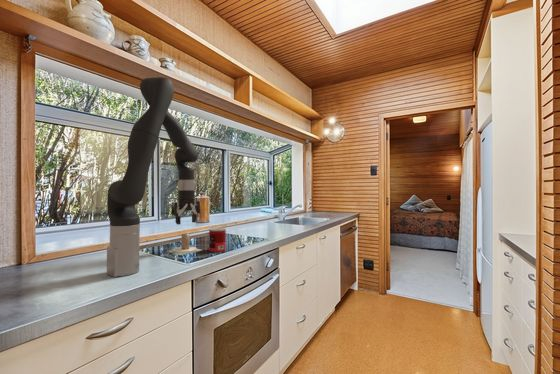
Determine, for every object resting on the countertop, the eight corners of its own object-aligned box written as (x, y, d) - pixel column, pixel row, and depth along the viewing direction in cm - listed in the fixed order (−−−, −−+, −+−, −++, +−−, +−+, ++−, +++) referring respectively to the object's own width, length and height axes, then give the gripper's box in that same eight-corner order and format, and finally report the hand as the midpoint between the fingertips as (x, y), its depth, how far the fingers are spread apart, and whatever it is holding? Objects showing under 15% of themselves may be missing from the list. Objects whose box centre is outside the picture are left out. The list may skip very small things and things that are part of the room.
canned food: (227, 249, 127) (227, 227, 128) (222, 253, 119) (222, 230, 120) (212, 249, 128) (212, 227, 128) (206, 253, 120) (206, 229, 120)
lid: (182, 254, 115) (182, 236, 115) (169, 251, 120) (169, 234, 120) (200, 250, 123) (201, 233, 123) (187, 247, 129) (188, 231, 129)
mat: (180, 256, 114) (180, 255, 114) (167, 253, 120) (167, 251, 120) (202, 251, 124) (202, 249, 124) (189, 248, 129) (189, 247, 129)
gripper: (177, 189, 114) (177, 225, 114) (203, 189, 126) (203, 222, 126) (168, 189, 118) (168, 224, 118) (194, 189, 130) (194, 221, 130)
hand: (186, 223), depth 122 cm, fingers open, 8 cm apart
